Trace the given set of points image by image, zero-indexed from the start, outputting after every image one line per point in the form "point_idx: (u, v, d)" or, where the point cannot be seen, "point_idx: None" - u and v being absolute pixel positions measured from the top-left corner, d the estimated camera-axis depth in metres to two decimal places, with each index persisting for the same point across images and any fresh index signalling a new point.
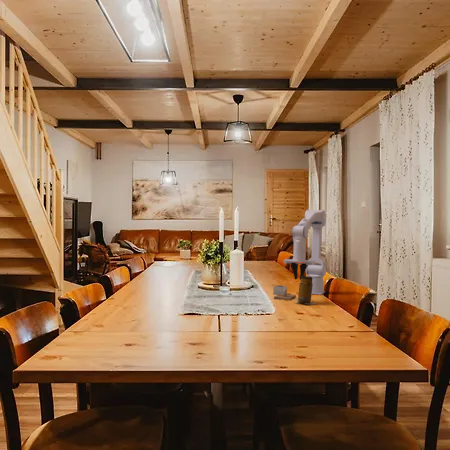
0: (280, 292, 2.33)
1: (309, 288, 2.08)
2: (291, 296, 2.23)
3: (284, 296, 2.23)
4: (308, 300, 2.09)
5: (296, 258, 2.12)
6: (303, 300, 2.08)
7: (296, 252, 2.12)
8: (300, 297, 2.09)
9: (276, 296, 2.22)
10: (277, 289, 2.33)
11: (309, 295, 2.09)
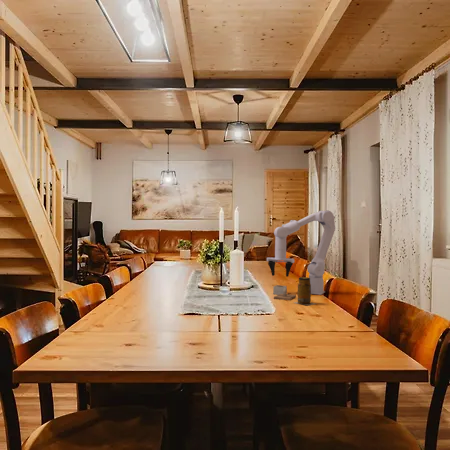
0: (280, 292, 2.33)
1: (307, 289, 2.08)
2: (291, 296, 2.23)
3: (284, 296, 2.23)
4: (308, 301, 2.09)
5: (277, 256, 2.33)
6: (303, 301, 2.08)
7: (277, 251, 2.33)
8: (299, 299, 2.09)
9: (276, 296, 2.22)
10: (277, 289, 2.33)
11: (308, 296, 2.09)
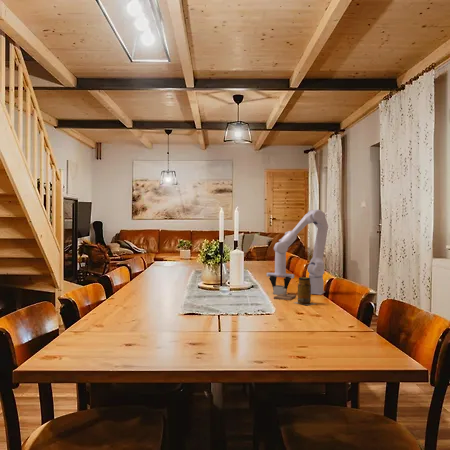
0: (280, 292, 2.33)
1: (307, 289, 2.08)
2: (291, 296, 2.23)
3: (284, 296, 2.23)
4: (308, 301, 2.09)
5: (277, 272, 2.33)
6: (303, 301, 2.08)
7: (277, 266, 2.33)
8: (299, 299, 2.09)
9: (276, 296, 2.22)
10: (277, 289, 2.33)
11: (308, 296, 2.09)
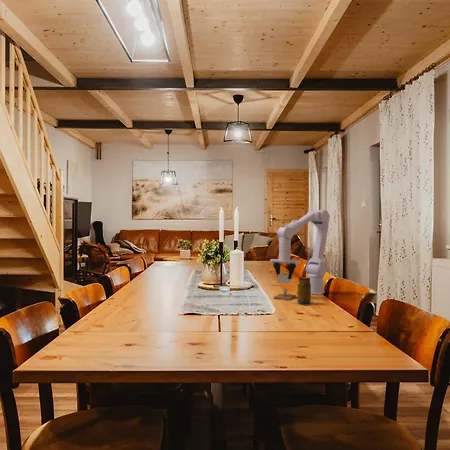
0: (284, 280, 2.23)
1: (307, 289, 2.08)
2: (291, 296, 2.23)
3: (284, 296, 2.23)
4: (308, 301, 2.09)
5: (281, 258, 2.23)
6: (303, 301, 2.08)
7: (281, 252, 2.23)
8: (299, 299, 2.09)
9: (276, 296, 2.22)
10: (281, 277, 2.24)
11: (308, 296, 2.09)
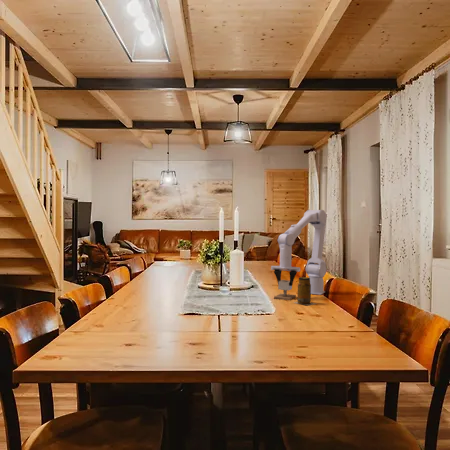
0: (285, 287, 2.21)
1: (307, 289, 2.08)
2: (291, 296, 2.23)
3: (284, 296, 2.23)
4: (308, 301, 2.09)
5: (282, 265, 2.22)
6: (303, 301, 2.08)
7: (282, 259, 2.22)
8: (299, 299, 2.09)
9: (276, 296, 2.22)
10: (282, 283, 2.22)
11: (308, 296, 2.09)
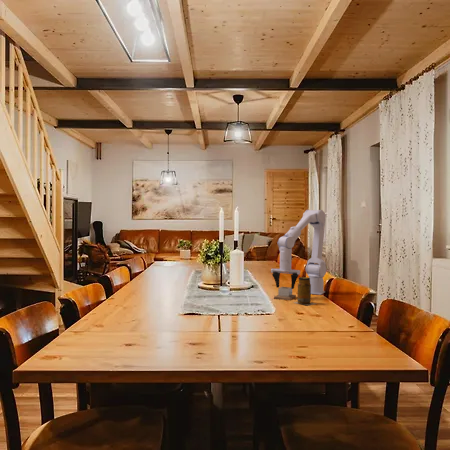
0: (285, 294, 2.21)
1: (307, 289, 2.08)
2: (291, 296, 2.23)
3: None
4: (308, 301, 2.09)
5: (282, 268, 2.22)
6: (303, 301, 2.08)
7: (282, 262, 2.22)
8: (299, 299, 2.09)
9: (276, 296, 2.22)
10: (282, 290, 2.22)
11: (308, 296, 2.09)
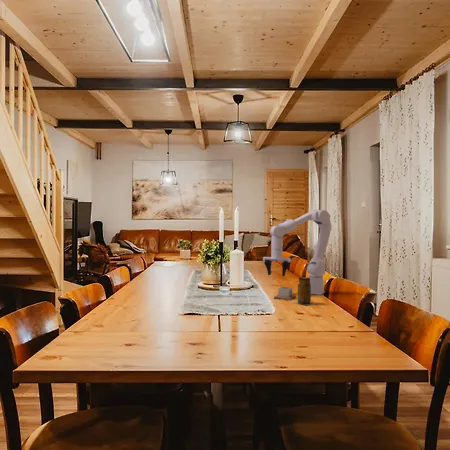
0: (285, 294, 2.21)
1: (307, 289, 2.08)
2: (291, 296, 2.23)
3: None
4: (308, 301, 2.09)
5: (273, 256, 2.31)
6: (303, 301, 2.08)
7: (273, 250, 2.31)
8: (299, 299, 2.09)
9: (276, 296, 2.22)
10: (282, 290, 2.22)
11: (308, 296, 2.09)
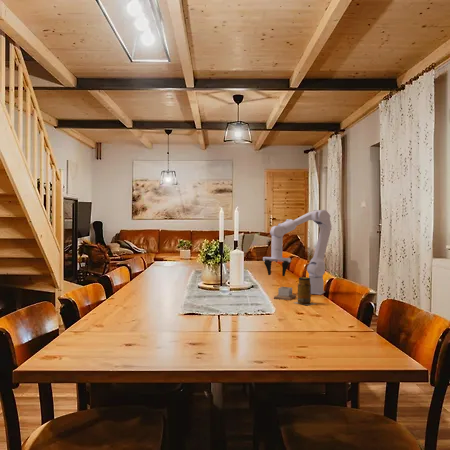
0: (285, 294, 2.21)
1: (307, 289, 2.08)
2: (291, 296, 2.23)
3: None
4: (308, 301, 2.09)
5: (273, 256, 2.31)
6: (303, 301, 2.08)
7: (273, 250, 2.31)
8: (299, 299, 2.09)
9: (276, 296, 2.22)
10: (282, 290, 2.22)
11: (308, 296, 2.09)
